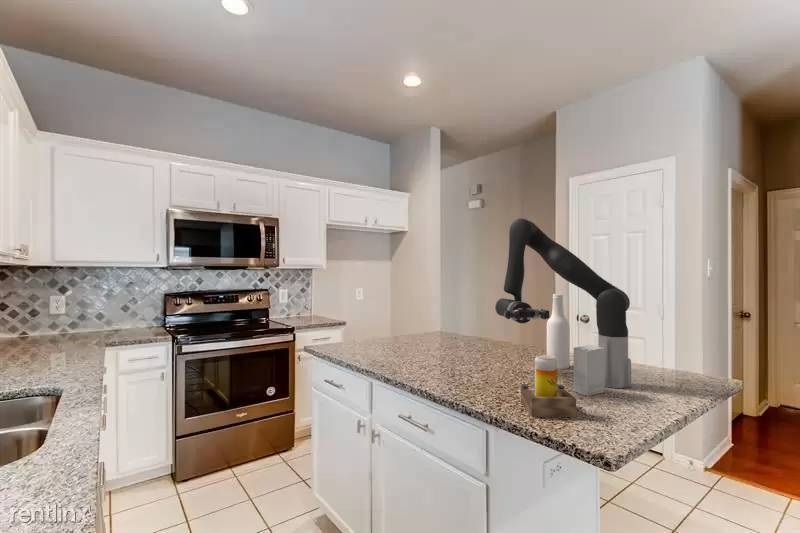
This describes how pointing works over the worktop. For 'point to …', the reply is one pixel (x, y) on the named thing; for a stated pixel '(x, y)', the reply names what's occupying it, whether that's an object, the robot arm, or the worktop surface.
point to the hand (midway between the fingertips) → (532, 316)
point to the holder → (549, 403)
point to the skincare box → (589, 370)
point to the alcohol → (558, 334)
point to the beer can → (545, 376)
